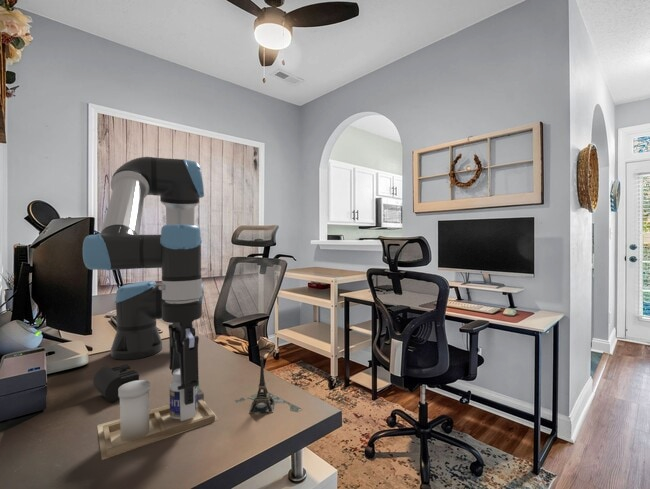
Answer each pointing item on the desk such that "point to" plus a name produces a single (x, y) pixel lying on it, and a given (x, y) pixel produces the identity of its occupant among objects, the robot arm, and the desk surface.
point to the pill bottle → (177, 395)
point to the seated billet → (134, 409)
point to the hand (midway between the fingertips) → (183, 411)
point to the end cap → (113, 380)
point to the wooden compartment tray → (153, 428)
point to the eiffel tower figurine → (265, 398)
